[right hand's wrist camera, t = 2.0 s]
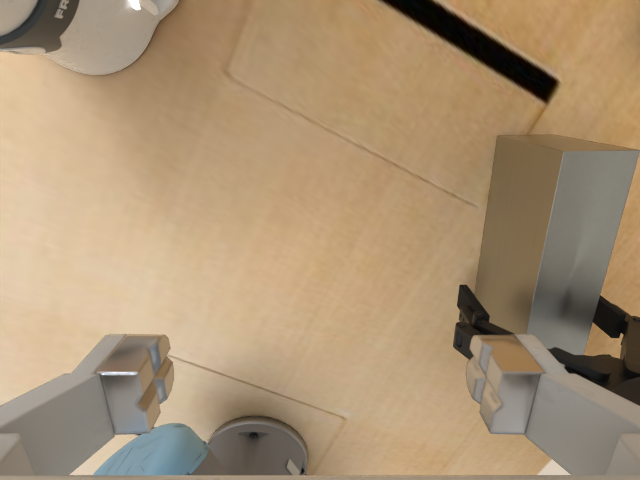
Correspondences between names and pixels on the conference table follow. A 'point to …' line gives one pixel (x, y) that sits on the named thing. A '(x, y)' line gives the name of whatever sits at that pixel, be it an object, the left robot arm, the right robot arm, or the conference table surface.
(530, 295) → the box
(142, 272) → the conference table surface
